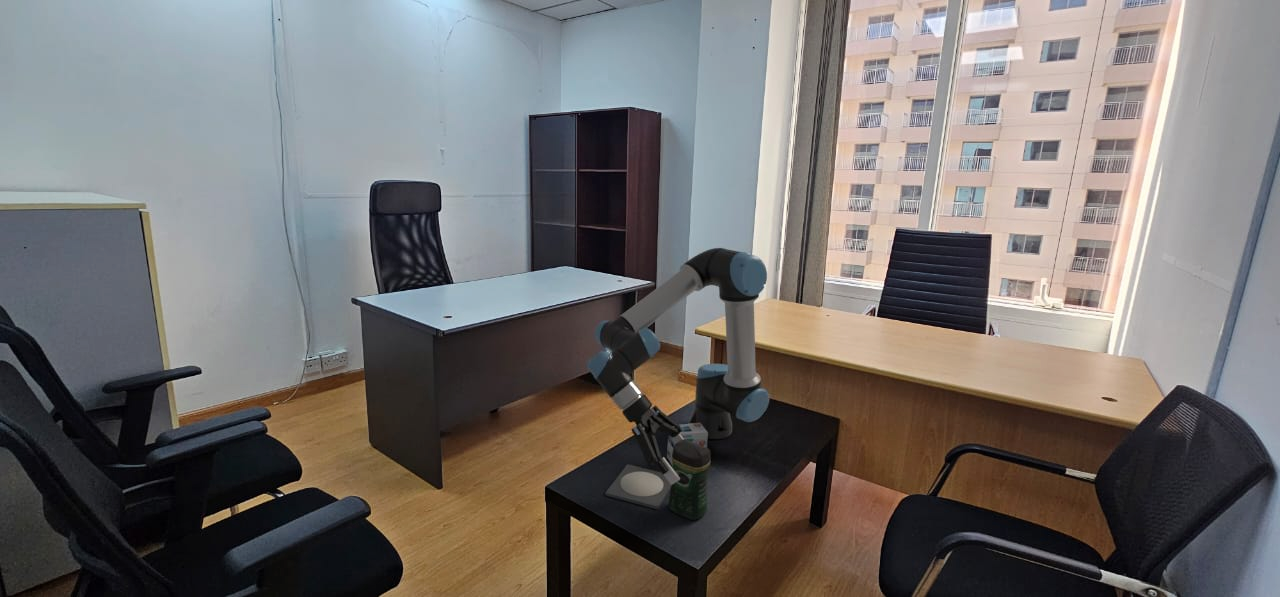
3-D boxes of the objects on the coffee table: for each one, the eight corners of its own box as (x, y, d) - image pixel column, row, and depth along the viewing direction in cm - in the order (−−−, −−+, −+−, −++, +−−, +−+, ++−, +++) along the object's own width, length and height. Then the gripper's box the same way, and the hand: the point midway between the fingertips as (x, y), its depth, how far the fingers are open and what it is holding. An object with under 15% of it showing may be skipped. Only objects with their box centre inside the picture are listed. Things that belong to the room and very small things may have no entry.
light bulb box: (672, 468, 158) (675, 435, 155) (665, 456, 164) (668, 424, 162) (706, 464, 161) (709, 432, 158) (698, 453, 167) (700, 422, 165)
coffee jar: (711, 511, 138) (716, 446, 134) (694, 525, 132) (700, 457, 128) (680, 496, 144) (685, 433, 140) (663, 509, 138) (667, 444, 134)
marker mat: (627, 466, 157) (627, 463, 157) (675, 478, 152) (675, 475, 152) (605, 495, 143) (605, 492, 142) (658, 509, 138) (658, 506, 137)
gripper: (639, 392, 150) (686, 453, 148) (602, 429, 127) (657, 501, 125) (658, 378, 147) (706, 440, 145) (623, 413, 124) (680, 486, 122)
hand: (683, 468), depth 135 cm, fingers open, 13 cm apart
